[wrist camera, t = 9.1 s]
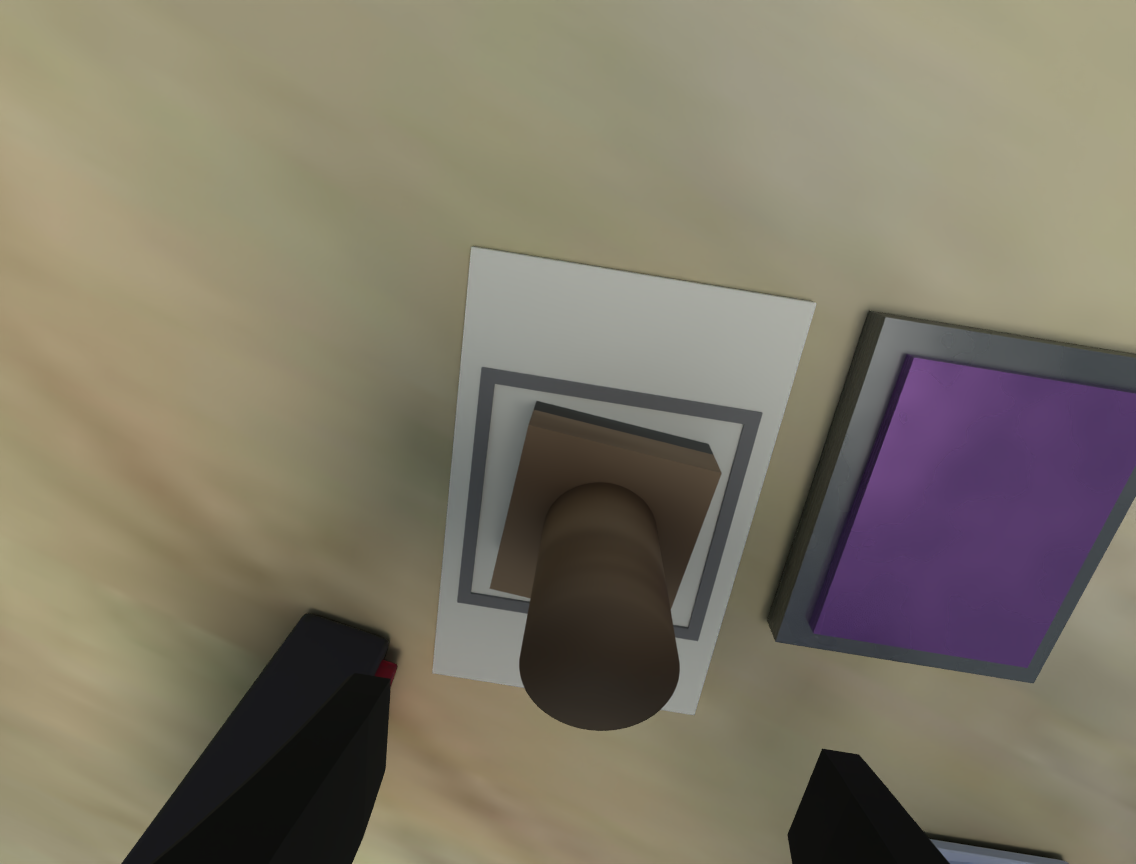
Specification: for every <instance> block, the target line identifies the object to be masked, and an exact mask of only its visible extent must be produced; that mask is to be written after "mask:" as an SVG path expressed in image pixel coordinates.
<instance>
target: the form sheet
mask: <svg viewBox="0 0 1136 864" xmlns="http://www.w3.org/2000/svg"><path fill="white" fill-rule="evenodd" d="M815 307H816V303H815V302H813V301H807V300H800V299H794V298H788V297H782V296H776V295H770V294H764V293H758V292H751V291H745V290H739V289H733V288H727V287H721V286H715V285H709V284H702V283H696V282H690V281H684V280H678V279H672V278H666V277H659V276H653V275H647V274H641V273H635V272H629V271H623V270H617V269H610V268H604V267H598V266H592V265H586V264H580V263H574V262H567V261H561V260H555V259H549V258H543V257H537V256H531V255H525V254H518V253H512V252H506V251H500V250H494V249H488V248H482V247H475V246H473V247H471V255H470V266H469V277H468V288H467V299H466V310H465V321H464V332H463V343H462V354H461V365H460V376H459V387H458V398H457V409H456V420H455V431H454V441H453V452H452V463H451V474H450V485H449V496H448V507H447V518H446V529H445V540H444V551H443V562H442V573H441V584H440V595H439V606H438V617H437V627H436V638H435V649H434V660H433V671H432V673H435V674H441V675H447V676H453V677H460V678H466V679H472V680H478V681H484V682H491V683H497V684H503V685H509V686H516V687H522V688H524V686H523V683H522V680H521V677H520V671H519V658H520V652H521V647H522V641H523V636H524V631H525V625H526V620H527V614H528V609H529V603H530V598H526V597H522V596H518V595H514V594H510V593H506V592H501V591H497V590H493V589H490V584H491V580H492V576H493V572H494V568H495V563H496V559H497V555H498V551H499V547H500V542H501V538H502V534H503V530H504V525H505V521H506V517H507V513H508V509H509V504H510V500H511V496H512V492H513V488H514V483H515V479H516V475H517V471H518V467H519V462H520V458H521V454H522V450H523V446H524V441H525V437H526V433H527V429H528V425H529V422H530V419H531V416H532V413H533V410H534V407H535V404H536V401H540V402H544V403H548V404H552V405H556V406H560V407H564V408H568V409H572V410H576V411H580V412H584V413H588V414H592V415H596V416H600V417H604V418H608V419H612V420H616V421H620V422H624V423H628V424H632V425H636V426H639V427H643V428H647V429H651V430H655V431H659V432H663V433H667V434H671V435H675V436H679V437H683V438H687V439H691V440H695V441H699V442H703V443H707V444H709V446H710V448H711V450H712V452H713V455H714V457H715V459H716V461H717V464H718V466H719V468H720V470H721V473H722V474H721V477H720V479H719V482H718V485H717V487H716V490H715V493H714V495H713V498H712V501H711V503H710V506H709V509H708V511H707V514H706V517H705V519H704V522H703V525H702V528H701V530H700V533H699V536H698V538H697V541H696V544H695V546H694V549H693V552H692V554H691V557H690V560H689V562H688V565H687V568H686V570H685V573H684V576H683V578H682V581H681V584H680V586H679V589H678V592H677V595H676V597H675V600H674V603H673V605H672V608H671V615H672V621H673V627H674V633H675V639H676V645H677V650H678V656H679V662H680V673H679V680H678V683H677V686H676V689H675V691H674V693H673V695H672V697H671V698H670V699H669V701H668V702H667V703H666V704H665V706H664V707H663V708H662V709H661V710H665V711H671V712H677V713H684V714H690V715H695V711H696V708H697V704H698V701H699V698H700V694H701V691H702V688H703V684H704V681H705V677H706V674H707V671H708V667H709V664H710V661H711V657H712V654H713V651H714V647H715V644H716V640H717V637H718V634H719V630H720V627H721V624H722V620H723V617H724V613H725V610H726V607H727V603H728V600H729V597H730V593H731V590H732V586H733V583H734V580H735V576H736V573H737V570H738V566H739V563H740V560H741V556H742V553H743V549H744V546H745V543H746V539H747V536H748V533H749V529H750V526H751V522H752V519H753V516H754V512H755V509H756V506H757V502H758V499H759V495H760V492H761V489H762V485H763V482H764V479H765V475H766V472H767V469H768V465H769V462H770V458H771V455H772V452H773V448H774V445H775V442H776V438H777V435H778V431H779V428H780V425H781V421H782V418H783V415H784V411H785V408H786V404H787V401H788V398H789V394H790V391H791V388H792V384H793V381H794V378H795V374H796V371H797V367H798V364H799V361H800V357H801V354H802V351H803V347H804V344H805V340H806V337H807V334H808V330H809V327H810V324H811V320H812V317H813V314H814V310H815Z"/></svg>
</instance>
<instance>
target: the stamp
mask: <svg viewBox="0 0 1136 864" xmlns="http://www.w3.org/2000/svg"><path fill="white" fill-rule="evenodd" d="M721 474H722V473H721V470H720V468H719V466H718V464H717V461H716V459H715V457H714V455H713V452H712V450H711V448H710V446H709V444H707V443H703V442H699V441H695V440H691V439H687V438H683V437H679V436H675V435H671V434H667V433H663V432H659V431H655V430H651V429H647V428H643V427H639V426H636V425H632V424H628V423H624V422H620V421H616V420H612V419H608V418H604V417H600V416H596V415H592V414H588V413H584V412H580V411H576V410H572V409H568V408H564V407H560V406H556V405H552V404H548V403H544V402H540V401H536V404H535V407H534V410H533V413H532V416H531V419H530V422H529V425H528V429H527V433H526V437H525V441H524V446H523V450H522V454H521V458H520V462H519V467H518V471H517V475H516V479H515V483H514V488H513V492H512V496H511V500H510V504H509V509H508V513H507V517H506V521H505V525H504V530H503V534H502V538H501V542H500V547H499V551H498V555H497V559H496V563H495V568H494V572H493V576H492V580H491V584H490V589H493V590H497V591H501V592H506V593H510V594H514V595H518V596H522V597H526V598H530V603H529V609H528V614H527V620H526V625H525V631H524V636H523V641H522V647H521V652H520V658H519V671H520V677H521V680H522V683H523V686H524V688H525V690H526V692H527V693H528V695H529V696H530V698H531V699H532V700H533V702H534V703H535V704H536V705H537V706H538V707H539V708H540V709H541V710H543V711H544V712H545V713H547V714H548V715H549V716H551V717H552V718H554V719H556V720H558V721H560V722H562V723H565V724H567V725H570V726H573V727H577V728H581V729H586V730H596V731H609V730H617V729H622V728H627V727H630V726H633V725H636V724H639V723H641V722H643V721H645V720H647V719H648V718H650V717H652V716H653V715H655V714H656V713H657V712H658V711H659V710H661V709H662V708H663V707H664V706H665V704H666V703H667V702H668V701H669V699H670V698H671V697H672V695H673V693H674V691H675V689H676V686H677V683H678V680H679V673H680V662H679V656H678V650H677V645H676V639H675V633H674V627H673V621H672V615H671V608H672V605H673V603H674V600H675V597H676V595H677V592H678V589H679V586H680V584H681V581H682V578H683V576H684V573H685V570H686V568H687V565H688V562H689V560H690V557H691V554H692V552H693V549H694V546H695V544H696V541H697V538H698V536H699V533H700V530H701V528H702V525H703V522H704V519H705V517H706V514H707V511H708V509H709V506H710V503H711V501H712V498H713V495H714V493H715V490H716V487H717V485H718V482H719V479H720V477H721Z"/></svg>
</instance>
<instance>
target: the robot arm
mask: <svg viewBox="0 0 1136 864" xmlns="http://www.w3.org/2000/svg"><path fill="white" fill-rule="evenodd" d="M390 687H391V679H390V678H384V677H377V676H371V675H365V674H359V673H354V674H352V675H350V676H349V677H347V678H346V680H345V681H344V682H343V683H342V684H341V685H340V686H339V687H338V688H337V689H336V691H335V692H334V693H333V694H332V695H331V696H330V697H329V698H328V699H327V700H326V701H325V702H324V703H323V704H322V705H321V707H320V708H319V709H318V710H317V711H316V712H315V713H314V714H313V715H312V716H311V717H310V718H309V719H308V720H307V721H306V722H305V723H304V724H303V725H302V726H301V727H300V728H299V729H298V730H297V731H296V732H295V733H294V734H293V735H292V736H291V737H290V738H289V739H288V740H287V741H286V742H285V743H284V744H283V745H282V746H281V747H280V748H279V749H278V750H277V751H276V752H275V753H274V754H273V755H272V756H270V757H269V758H268V759H267V760H266V761H265V762H264V763H263V764H262V765H261V766H260V767H259V768H258V769H257V770H256V771H255V772H254V773H253V774H252V775H251V776H250V777H249V778H248V779H246V780H245V781H244V782H243V783H242V784H241V785H240V786H239V787H238V788H237V789H236V790H234V791H233V792H232V793H231V794H230V795H229V796H228V797H227V798H225V799H224V800H223V801H222V802H221V803H220V804H219V805H217V806H216V807H215V808H214V809H213V810H212V811H211V812H209V813H208V814H207V815H206V816H205V817H204V818H203V819H202V820H200V821H199V822H198V823H197V824H196V825H195V826H194V827H192V828H191V829H190V830H189V831H188V832H187V833H186V834H184V835H183V836H182V837H181V838H180V839H179V840H177V841H176V842H175V843H174V844H173V845H171V846H170V847H169V848H168V849H167V850H165V851H164V852H163V853H162V854H161V855H159V856H158V857H157V858H156V859H154V860H153V861H152V862H151V863H149V864H352V862H353V860H354V858H355V855H356V853H357V851H358V848H359V846H360V844H361V841H362V839H363V836H364V833H365V830H366V827H367V824H368V821H369V818H370V816H371V813H372V810H373V807H374V803H375V800H376V797H377V794H378V791H379V788H380V785H381V782H382V779H383V776H384V772H385V768H386V752H387V736H388V719H389V703H390ZM788 841H789V847H790V853H791V859H792V864H1069V863H1067V862H1065V861H1062V860H1058V859H1052V858H1045V857H1039V856H1033V855H1027V854H1020V853H1014V852H1008V851H1002V850H995V849H989V848H983V847H977V846H971V845H964V844H958V843H952V842H946V841H939V840H933V839H929V838H928V837H927V835H926V834H925V833H924V832H923V831H922V829H921V828H920V827H919V826H918V825H917V823H916V822H915V821H914V820H913V819H912V817H911V816H910V815H909V814H908V813H907V811H906V810H905V809H904V808H903V806H902V805H901V804H900V803H899V802H898V800H897V799H896V798H895V797H894V796H893V794H892V793H891V792H890V791H889V790H888V788H887V787H886V786H885V785H884V784H883V782H882V781H881V780H880V779H879V778H878V776H877V775H876V774H875V773H874V772H873V770H872V769H871V768H870V767H869V766H868V765H867V763H866V762H865V761H864V760H863V759H862V758H861V757H860V755H858V754H852V753H846V752H839V751H833V750H827V749H822V751H821V753H820V756H819V758H818V760H817V763H816V765H815V768H814V770H813V773H812V775H811V778H810V780H809V783H808V785H807V788H806V790H805V793H804V795H803V798H802V800H801V803H800V805H799V808H798V810H797V812H796V815H795V817H794V820H793V822H792V825H791V827H790V830H789V832H788Z"/></svg>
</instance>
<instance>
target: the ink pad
mask: <svg viewBox="0 0 1136 864" xmlns="http://www.w3.org/2000/svg"><path fill="white" fill-rule="evenodd" d="M1135 497H1136V354H1132V353H1126V352H1119V351H1113V350H1107V349H1101V348H1095V347H1089V346H1083V345H1076V344H1070V343H1064V342H1058V341H1052V340H1046V339H1040V338H1034V337H1027V336H1021V335H1015V334H1009V333H1003V332H997V331H991V330H984V329H978V328H972V327H966V326H960V325H954V324H948V323H942V322H935V321H929V320H923V319H917V318H911V317H905V316H899V315H892V314H886V313H880V312H874V311H869V313H868V316H867V319H866V322H865V325H864V328H863V331H862V334H861V337H860V340H859V343H858V346H857V349H856V352H855V355H854V358H853V361H852V364H851V367H850V370H849V373H848V377H847V380H846V383H845V386H844V389H843V392H842V395H841V398H840V401H839V404H838V407H837V410H836V413H835V416H834V419H833V422H832V425H831V428H830V431H829V434H828V437H827V440H826V443H825V446H824V449H823V453H822V456H821V459H820V462H819V465H818V468H817V471H816V474H815V477H814V480H813V483H812V486H811V489H810V492H809V495H808V498H807V501H806V504H805V507H804V510H803V513H802V516H801V519H800V522H799V525H798V529H797V532H796V535H795V538H794V541H793V544H792V547H791V550H790V553H789V556H788V559H787V562H786V565H785V568H784V571H783V574H782V577H781V580H780V583H779V586H778V589H777V592H776V595H775V598H774V601H773V604H772V608H771V611H770V614H769V617H768V620H767V622H768V624H769V627H770V629H771V632H772V634H773V637H774V639H775V642H780V643H786V644H792V645H799V646H805V647H811V648H817V649H823V650H830V651H836V652H842V653H848V654H854V655H861V656H867V657H873V658H879V659H886V660H892V661H898V662H904V663H910V664H917V665H923V666H929V667H935V668H941V669H948V670H954V671H960V672H966V673H972V674H979V675H985V676H991V677H997V678H1003V679H1010V680H1016V681H1022V682H1028V683H1034V682H1035V680H1036V678H1037V676H1038V674H1039V673H1040V671H1041V669H1042V667H1043V665H1044V663H1045V662H1046V660H1047V658H1048V656H1049V654H1050V652H1051V651H1052V649H1053V647H1054V645H1055V643H1056V641H1057V640H1058V638H1059V636H1060V634H1061V632H1062V630H1063V629H1064V627H1065V625H1066V623H1067V621H1068V619H1069V618H1070V616H1071V614H1072V612H1073V610H1074V608H1075V607H1076V605H1077V603H1078V601H1079V599H1080V597H1081V596H1082V594H1083V592H1084V590H1085V588H1086V586H1087V585H1088V583H1089V581H1090V579H1091V577H1092V575H1093V574H1094V572H1095V570H1096V568H1097V566H1098V564H1099V563H1100V561H1101V559H1102V557H1103V555H1104V553H1105V552H1106V550H1107V548H1108V546H1109V544H1110V542H1111V541H1112V539H1113V537H1114V535H1115V533H1116V531H1117V530H1118V528H1119V526H1120V524H1121V522H1122V520H1123V519H1124V517H1125V515H1126V513H1127V511H1128V509H1129V508H1130V506H1131V504H1132V502H1133V500H1134V498H1135Z"/></svg>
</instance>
